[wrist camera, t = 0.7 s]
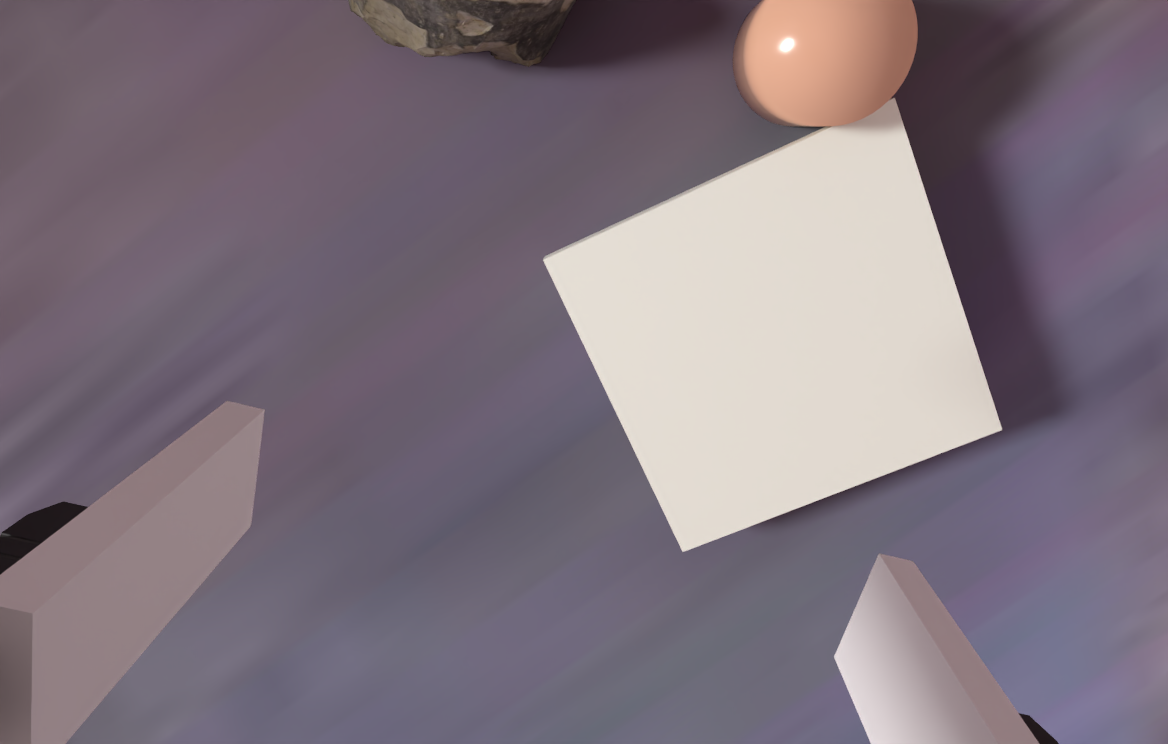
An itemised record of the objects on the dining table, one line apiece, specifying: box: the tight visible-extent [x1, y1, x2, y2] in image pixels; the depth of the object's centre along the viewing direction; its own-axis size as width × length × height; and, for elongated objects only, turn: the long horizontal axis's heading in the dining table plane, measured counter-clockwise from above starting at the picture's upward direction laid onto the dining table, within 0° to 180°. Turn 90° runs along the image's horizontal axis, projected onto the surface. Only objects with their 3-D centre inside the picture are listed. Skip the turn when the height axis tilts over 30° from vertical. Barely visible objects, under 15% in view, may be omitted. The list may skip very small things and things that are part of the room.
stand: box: [543, 98, 1002, 552], centre depth 36 cm, size 16×16×4 cm
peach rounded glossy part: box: [733, 0, 918, 127], centre depth 32 cm, size 6×6×6 cm
